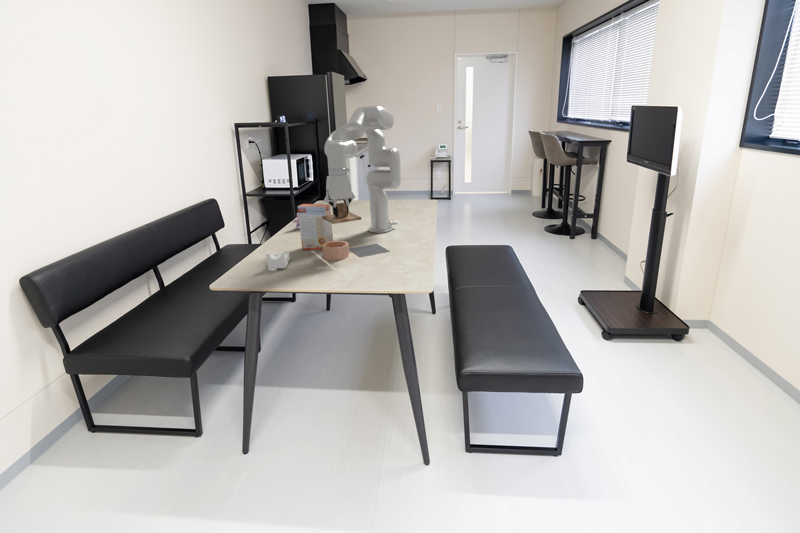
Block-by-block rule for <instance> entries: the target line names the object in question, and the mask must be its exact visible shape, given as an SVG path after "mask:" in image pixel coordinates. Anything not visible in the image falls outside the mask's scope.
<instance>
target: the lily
mask: <svg viewBox="0 0 800 533" xmlns="http://www.w3.org/2000/svg"><path fill="white" fill-rule="evenodd" d="M296 218H297V219H294V220H292V221H291V222H292V223H296V224H295V228H296V229H298V228H300V225H299V216H298V212H297V213H296ZM297 227H298V228H297Z"/></svg>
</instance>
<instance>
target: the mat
mask: <svg viewBox="0 0 800 533" xmlns="http://www.w3.org/2000/svg"><path fill="white" fill-rule="evenodd" d="M349 252H351V253H352V254H354V255H355V256H357V257H359V258H365V257H369V256H375V255H379V254H383V253H384V254H386V253H390V252H391V250H389V249H387V248H386V247H383V246H381V245H379V244H378V243H371V244H366V245H361V246H360V245H359V246H357V247H349Z"/></svg>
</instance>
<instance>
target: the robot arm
mask: <svg viewBox="0 0 800 533" xmlns="http://www.w3.org/2000/svg"><path fill="white" fill-rule="evenodd" d="M393 126H394V116H393V114H392V113H391V112H390V111H389V110H388V109H386V108H385V107H382V106H380V105H363V106H358V107H357V108H356V109H355V110H353V113H352V115H351V117H350V118H349V120H348V121H347V123H346V124H344V125H342V126H340V127H339V128H337V129H335V130H333V131H332V132H331V133H330V134H329V136H328V137H327V139H326V141H325V144H324V151H323V152H324V154H325V155H326V157H327V168H328V175H327V176H326V186H325V189H326V193H325V194H326V195H325V197H324V199H323V201H324V202H325V203H327V204H328V205H330V207H331V208H332V215H333V214H334V216H336V217H337V216H338V208H337V207H336V204H337V201H341V200H343V203H345V204H347V215H348V212H350V210H349V206H350V204H351V203H352V201H353V200H354V199H355V198H356V195H355V194H354V193H353V192H352V191H353V190H352V184H351V180H350V177H349V174H348V172H349V173H350V171H351V170H350V168H348V167H347V159H352V158H355V157H356V156H357V155H358V151H359V146H358V144H357V143H356V141H355V140H359V139H360V138H362V137H363V136H364V135H365V136H366V139H367V147H368V148H367V149H368V150H367V154H368V161H369V165H370V166H372V167H375V168H389V169H371V170H369V171H368V172H367V174H366V177H365V178H366V184H367V188H368V194H369V213H370V226H369V228H368V231H369V232H370V233H374V234H377V233H378V234H382V233H388V232H392V230H393V226H395V225H396V226H397V225H398V220H394V221H393V220H390V218H389V216H390V215H389V212H390V210H389V197H388V194H387V192H386V191H385V190H387V189H388V190H396V189H398V188H399V187H400V186H401V179H402V178H401V176H402V175H401V155H400V152H399V150H398V148H395V147H386V139H385V138H386V137H385V135H384V134H383V132H382V131H388V130H390V129H392V127H393Z"/></svg>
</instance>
